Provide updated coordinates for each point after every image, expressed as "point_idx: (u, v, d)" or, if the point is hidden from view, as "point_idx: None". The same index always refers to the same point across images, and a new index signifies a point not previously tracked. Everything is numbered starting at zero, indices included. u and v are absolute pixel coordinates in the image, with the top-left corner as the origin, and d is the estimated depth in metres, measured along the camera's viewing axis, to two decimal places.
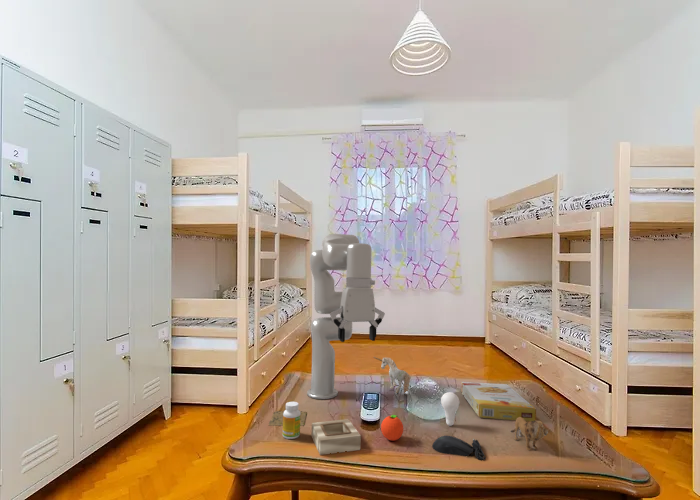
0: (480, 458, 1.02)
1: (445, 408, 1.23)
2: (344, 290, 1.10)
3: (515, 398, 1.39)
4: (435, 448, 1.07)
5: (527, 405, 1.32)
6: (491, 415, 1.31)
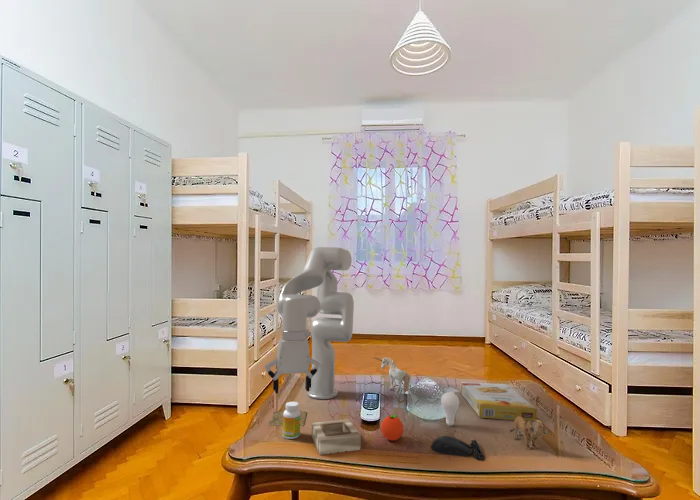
0: (479, 458, 1.02)
1: (445, 408, 1.23)
2: (279, 342, 1.14)
3: (515, 398, 1.39)
4: (434, 449, 1.07)
5: (527, 405, 1.32)
6: (492, 415, 1.31)
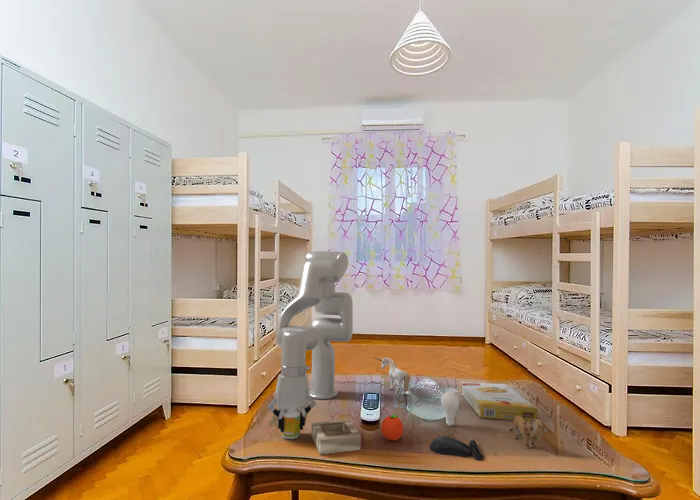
0: (478, 458, 1.02)
1: (445, 408, 1.23)
2: (278, 378, 1.14)
3: (515, 398, 1.39)
4: (433, 449, 1.06)
5: (528, 405, 1.32)
6: (493, 415, 1.30)
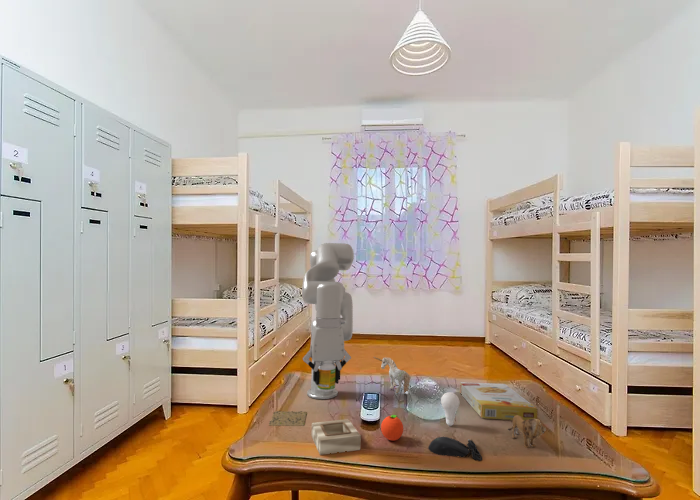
0: (477, 459, 1.02)
1: (445, 408, 1.23)
2: (313, 330, 1.11)
3: (515, 398, 1.39)
4: (432, 450, 1.06)
5: (528, 405, 1.32)
6: (493, 415, 1.30)
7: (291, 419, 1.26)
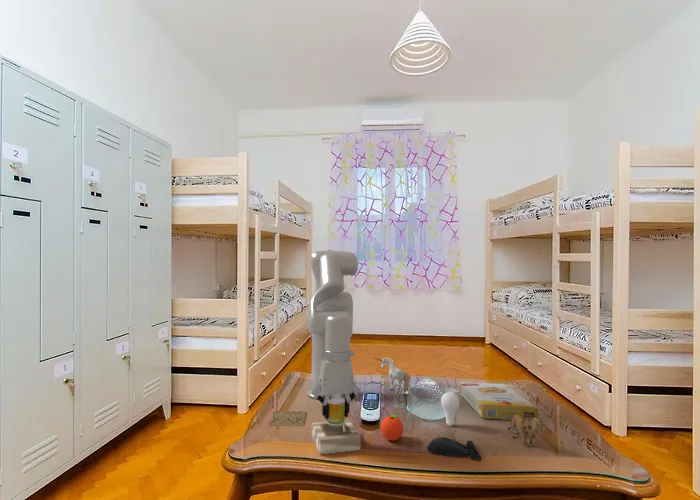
0: (476, 459, 1.02)
1: (445, 408, 1.23)
2: (322, 363, 1.10)
3: (516, 398, 1.39)
4: (431, 450, 1.06)
5: (528, 405, 1.33)
6: (494, 415, 1.30)
7: (291, 419, 1.26)
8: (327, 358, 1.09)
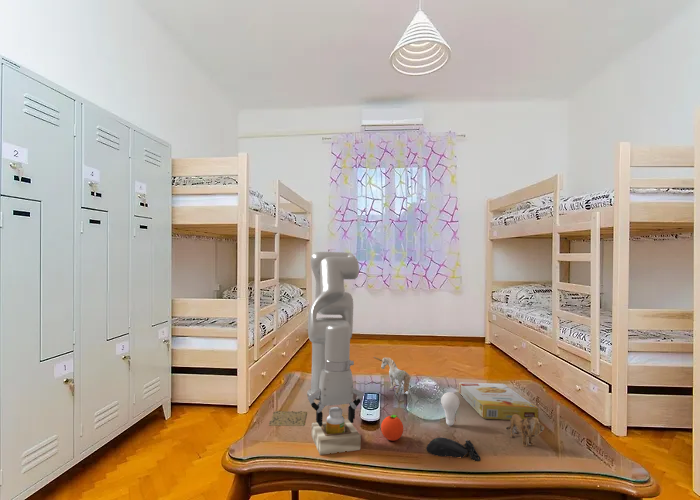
0: (475, 459, 1.02)
1: (445, 408, 1.23)
2: (322, 373, 1.10)
3: (516, 398, 1.39)
4: (430, 451, 1.05)
5: (529, 405, 1.33)
6: (495, 415, 1.30)
7: (291, 419, 1.26)
8: (327, 368, 1.09)
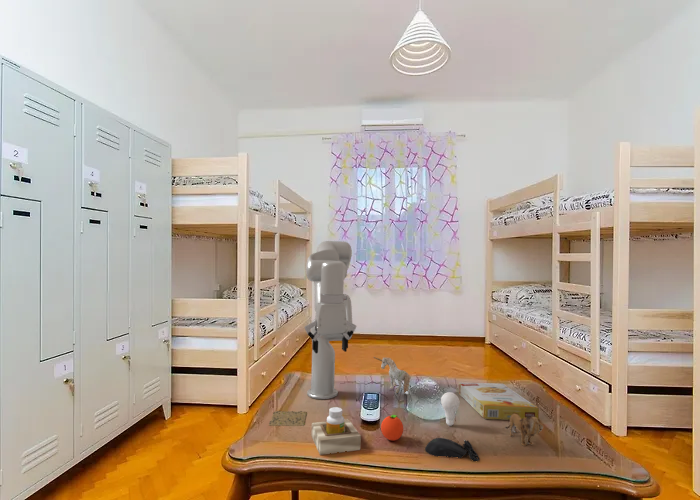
0: (474, 459, 1.01)
1: (445, 408, 1.23)
2: (318, 305, 1.19)
3: (516, 398, 1.39)
4: (429, 451, 1.05)
5: (529, 404, 1.33)
6: (496, 416, 1.30)
7: (291, 419, 1.26)
8: (322, 301, 1.18)
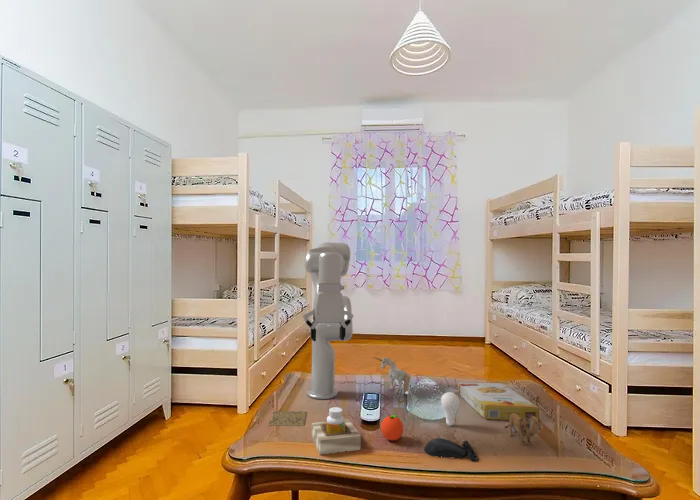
0: (474, 459, 1.01)
1: (445, 408, 1.23)
2: (316, 294, 1.22)
3: (516, 398, 1.39)
4: (428, 452, 1.05)
5: (529, 404, 1.33)
6: (496, 416, 1.30)
7: (291, 419, 1.26)
8: (320, 289, 1.22)
